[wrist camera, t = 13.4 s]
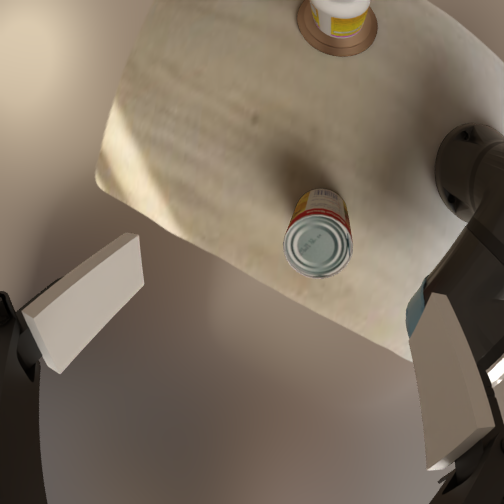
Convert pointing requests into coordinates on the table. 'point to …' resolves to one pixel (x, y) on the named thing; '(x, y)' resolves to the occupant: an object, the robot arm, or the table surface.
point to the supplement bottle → (339, 16)
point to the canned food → (319, 235)
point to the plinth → (333, 44)
